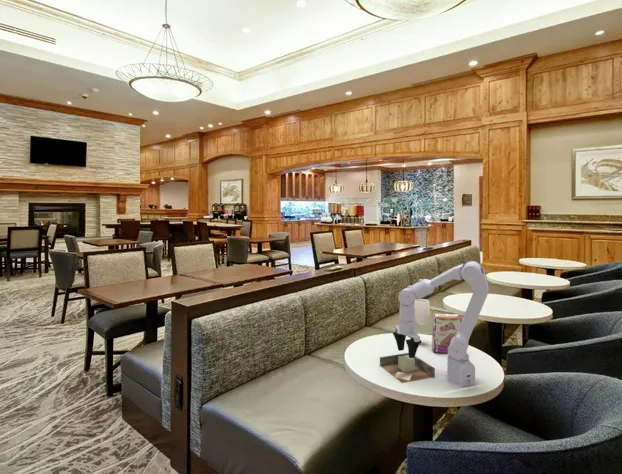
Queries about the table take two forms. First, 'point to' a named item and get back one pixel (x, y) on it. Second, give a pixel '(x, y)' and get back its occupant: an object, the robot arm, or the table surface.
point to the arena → (420, 371)
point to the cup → (422, 311)
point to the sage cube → (406, 363)
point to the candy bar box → (444, 331)
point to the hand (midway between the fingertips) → (406, 353)
